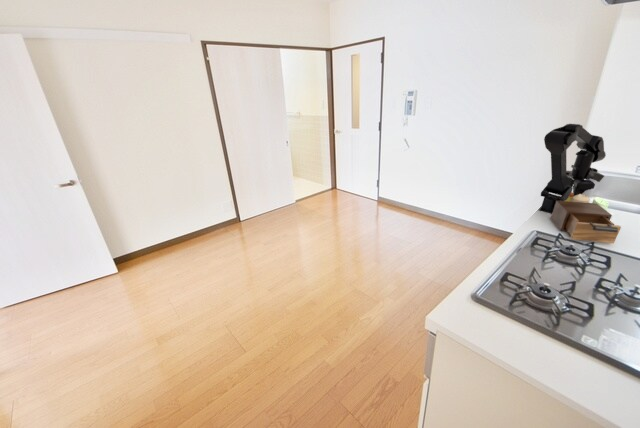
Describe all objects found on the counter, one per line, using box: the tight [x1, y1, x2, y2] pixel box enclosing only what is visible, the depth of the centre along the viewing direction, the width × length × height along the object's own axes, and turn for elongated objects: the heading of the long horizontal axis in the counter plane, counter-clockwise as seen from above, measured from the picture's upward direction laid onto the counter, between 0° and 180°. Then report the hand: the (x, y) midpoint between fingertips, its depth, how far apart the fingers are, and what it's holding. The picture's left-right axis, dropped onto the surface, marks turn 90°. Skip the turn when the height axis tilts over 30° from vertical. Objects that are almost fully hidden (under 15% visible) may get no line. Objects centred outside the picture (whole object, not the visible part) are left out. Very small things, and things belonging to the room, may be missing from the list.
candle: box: [571, 194, 590, 203], centre depth 121 cm, size 6×6×10 cm
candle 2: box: [591, 196, 610, 211], centre depth 120 cm, size 5×5×8 cm
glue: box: [565, 191, 573, 202], centre depth 133 cm, size 4×4×6 cm
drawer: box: [564, 214, 622, 244], centre depth 103 cm, size 15×12×8 cm
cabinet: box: [550, 201, 613, 233], centre depth 113 cm, size 12×14×9 cm
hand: (571, 196), depth 133 cm, fingers open, 9 cm apart
